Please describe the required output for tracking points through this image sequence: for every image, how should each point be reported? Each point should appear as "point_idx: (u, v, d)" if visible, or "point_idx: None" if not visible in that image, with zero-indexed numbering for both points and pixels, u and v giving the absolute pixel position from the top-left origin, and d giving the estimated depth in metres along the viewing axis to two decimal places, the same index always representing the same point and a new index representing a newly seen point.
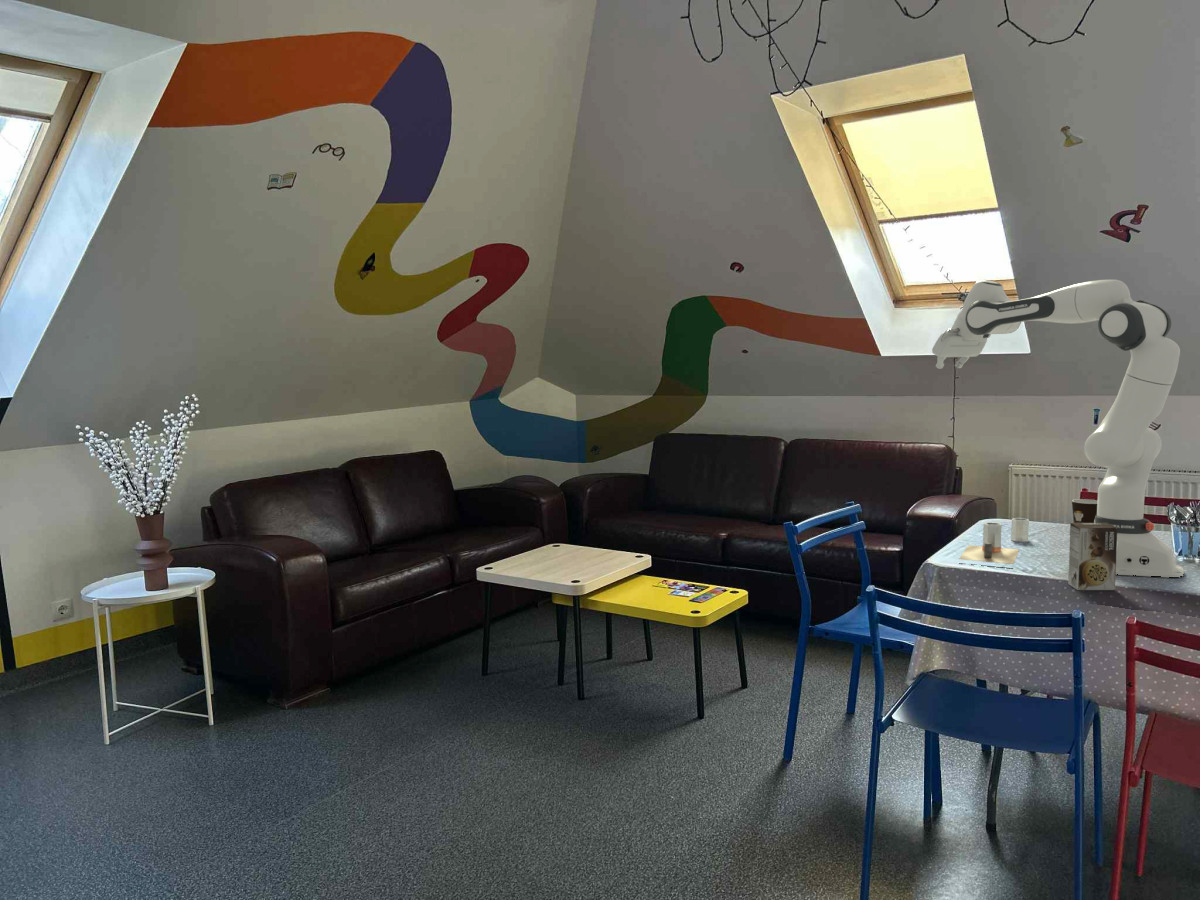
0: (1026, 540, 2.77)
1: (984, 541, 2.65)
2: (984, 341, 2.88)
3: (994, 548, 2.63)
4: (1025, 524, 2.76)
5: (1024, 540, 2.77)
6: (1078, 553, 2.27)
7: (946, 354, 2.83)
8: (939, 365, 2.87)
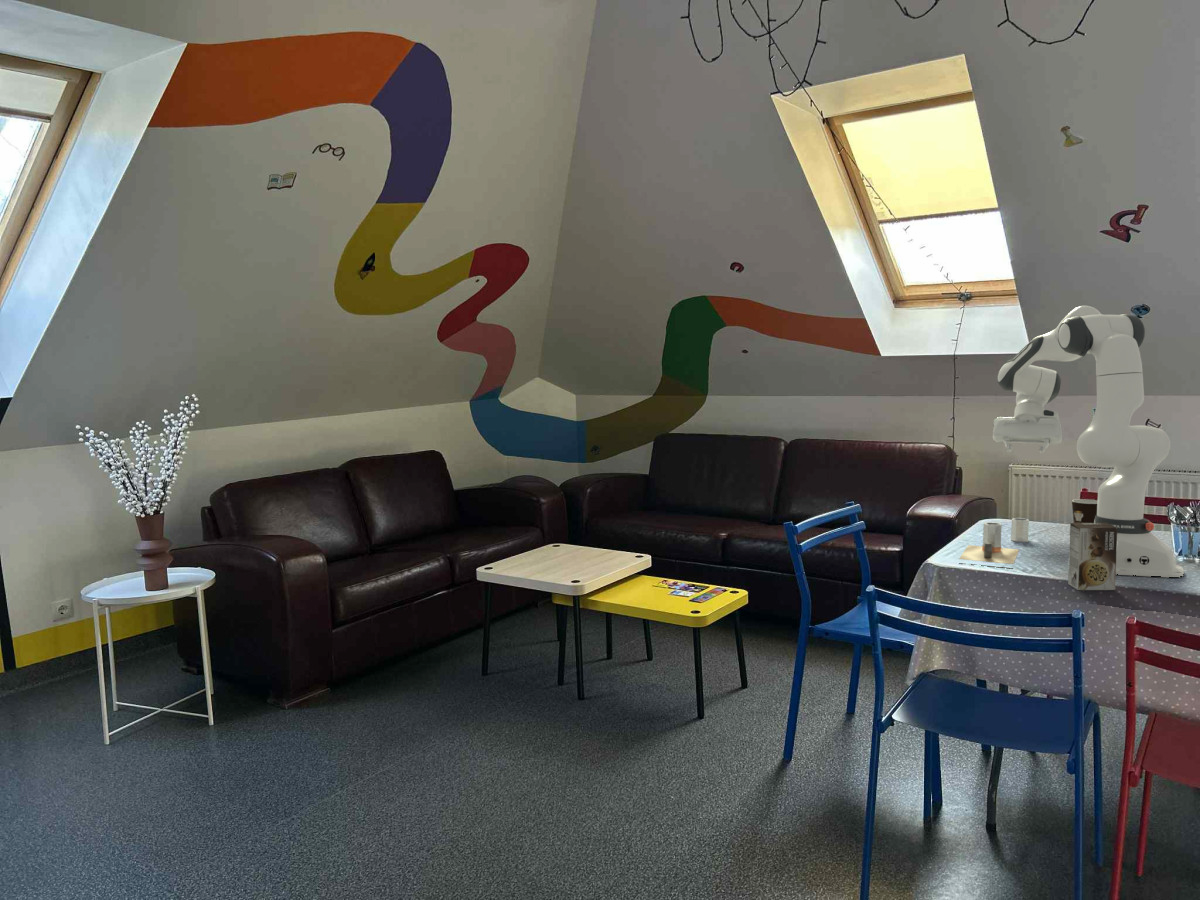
0: (1026, 540, 2.77)
1: (984, 541, 2.65)
2: (1055, 421, 2.88)
3: (994, 548, 2.63)
4: (1025, 524, 2.76)
5: (1024, 540, 2.77)
6: (1078, 553, 2.27)
7: (1003, 432, 2.93)
8: None
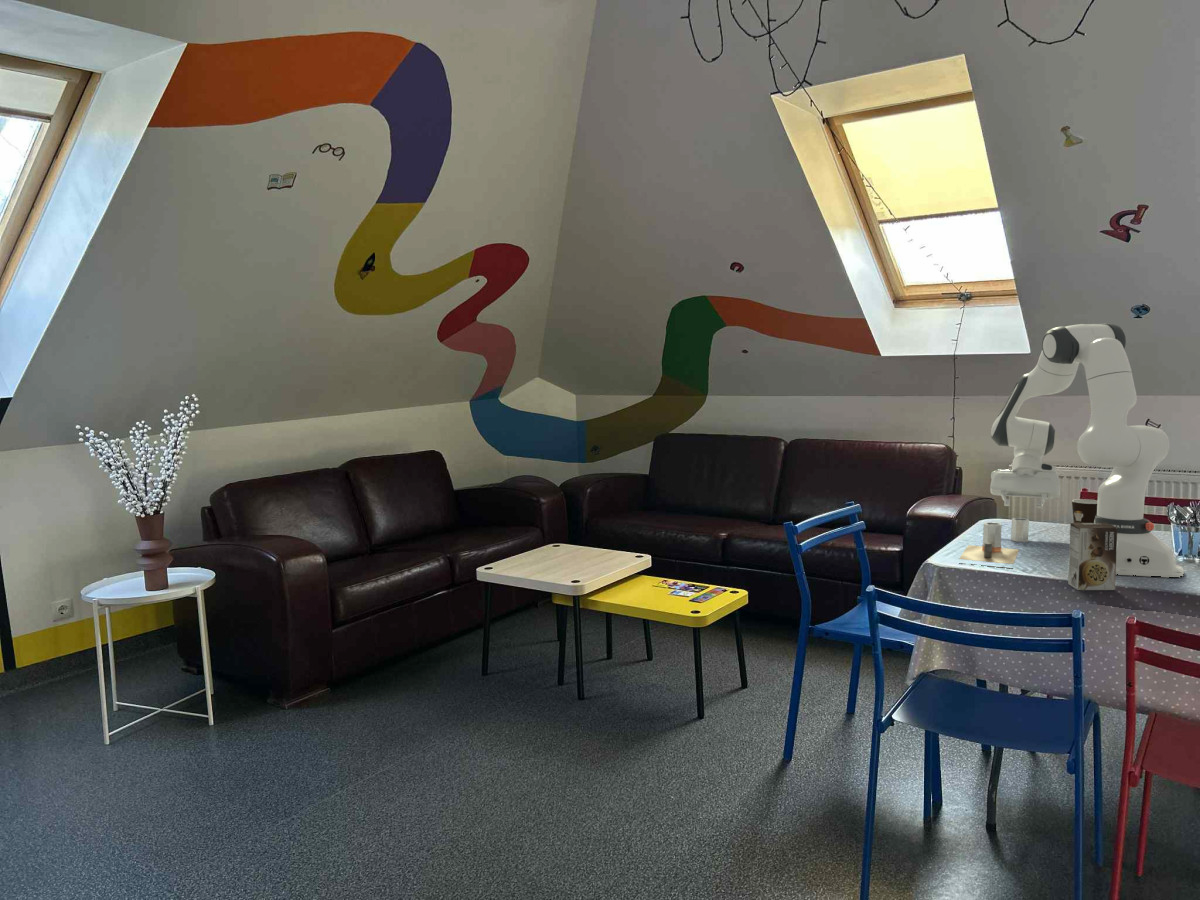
0: (1026, 540, 2.77)
1: (984, 541, 2.65)
2: (1053, 476, 2.85)
3: (994, 548, 2.63)
4: (1025, 524, 2.76)
5: (1024, 540, 2.77)
6: (1078, 553, 2.27)
7: (1000, 486, 2.90)
8: (1004, 501, 2.88)
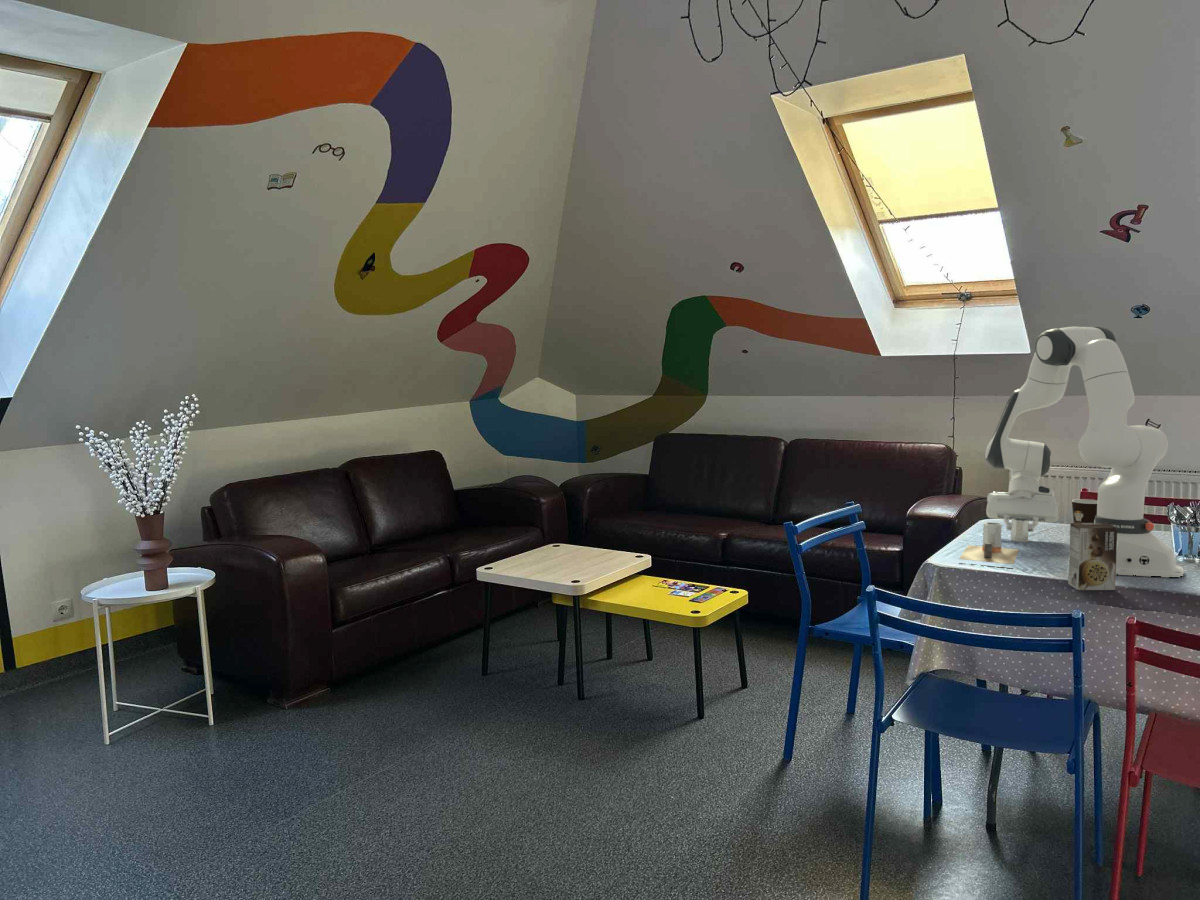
0: (1026, 540, 2.77)
1: (984, 541, 2.65)
2: (1050, 499, 2.79)
3: (994, 548, 2.63)
4: (1025, 524, 2.76)
5: (1024, 540, 2.77)
6: (1078, 553, 2.27)
7: (997, 509, 2.84)
8: None
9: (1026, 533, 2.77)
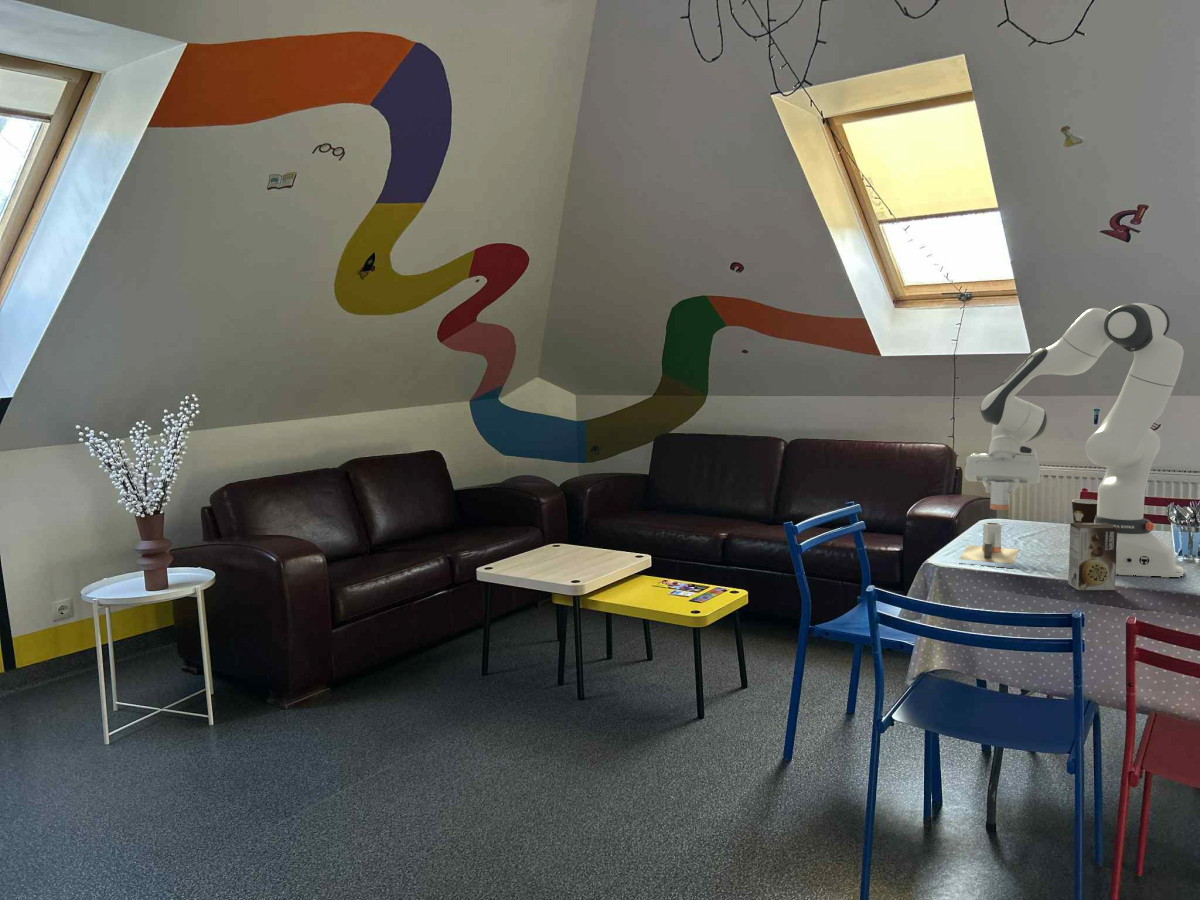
0: (1006, 503, 2.60)
1: (984, 541, 2.65)
2: (1032, 459, 2.61)
3: (994, 548, 2.63)
4: (1005, 485, 2.59)
5: (1004, 503, 2.60)
6: (1078, 553, 2.27)
7: (975, 471, 2.67)
8: (985, 487, 2.63)
9: (1006, 495, 2.60)
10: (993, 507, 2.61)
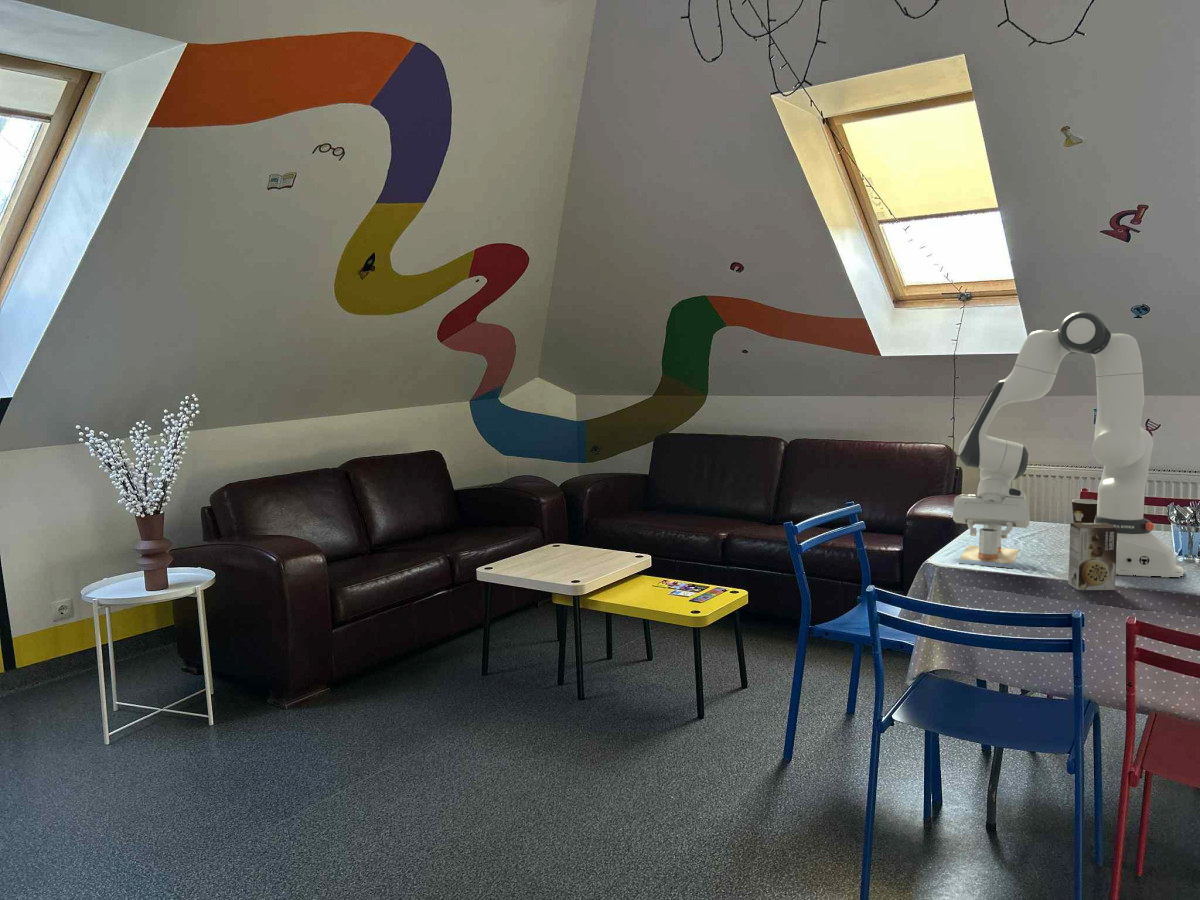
0: (995, 552, 2.55)
1: None
2: (1022, 502, 2.56)
3: None
4: (994, 535, 2.54)
5: (993, 552, 2.54)
6: (1078, 553, 2.27)
7: (964, 513, 2.61)
8: None
9: (995, 545, 2.54)
10: (981, 556, 2.56)
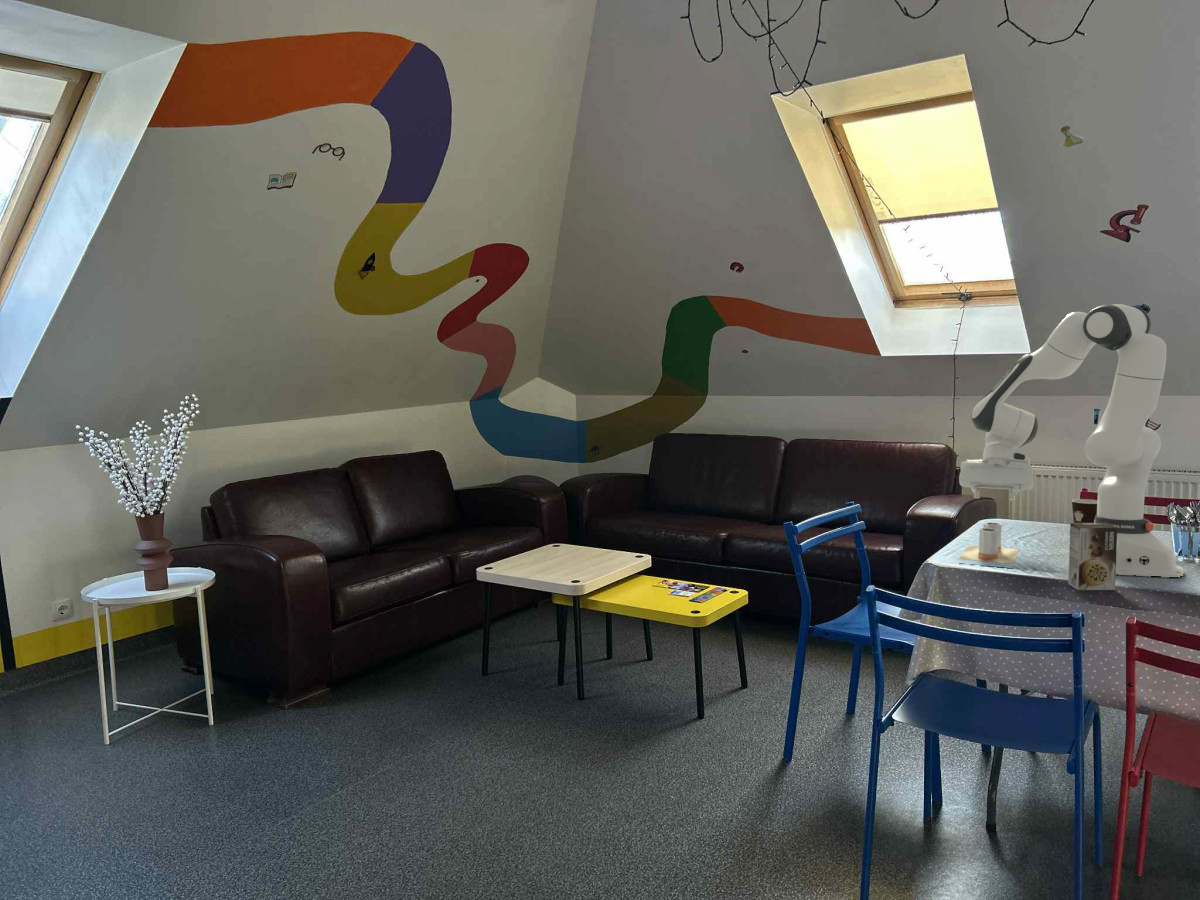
0: (995, 552, 2.55)
1: None
2: (1026, 466, 2.65)
3: None
4: (994, 535, 2.54)
5: (993, 552, 2.54)
6: (1078, 553, 2.27)
7: (970, 477, 2.70)
8: (974, 493, 2.68)
9: (995, 545, 2.54)
10: (981, 556, 2.56)
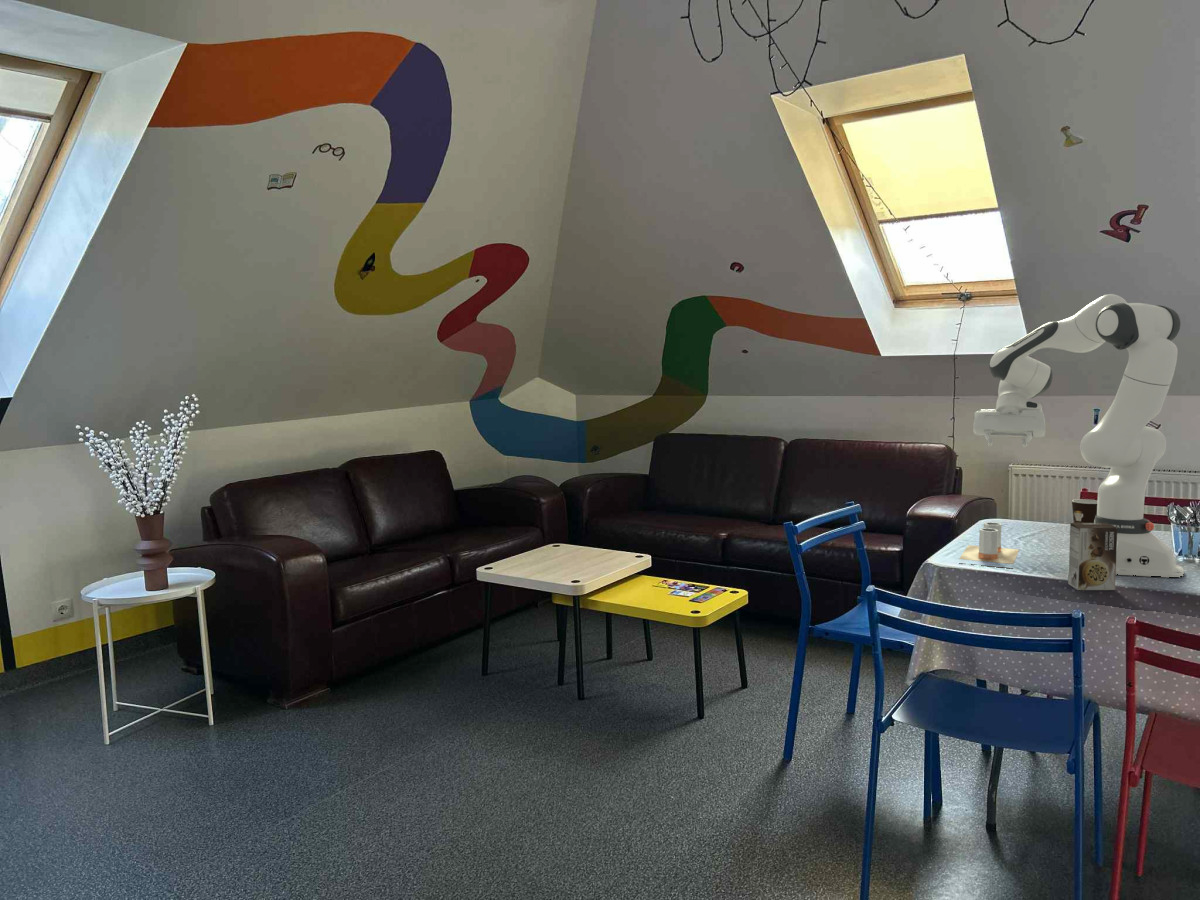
0: (995, 552, 2.55)
1: None
2: (1038, 413, 2.73)
3: None
4: (994, 535, 2.54)
5: (993, 552, 2.54)
6: (1078, 553, 2.27)
7: (984, 425, 2.78)
8: (987, 440, 2.76)
9: (995, 545, 2.54)
10: (981, 556, 2.56)
